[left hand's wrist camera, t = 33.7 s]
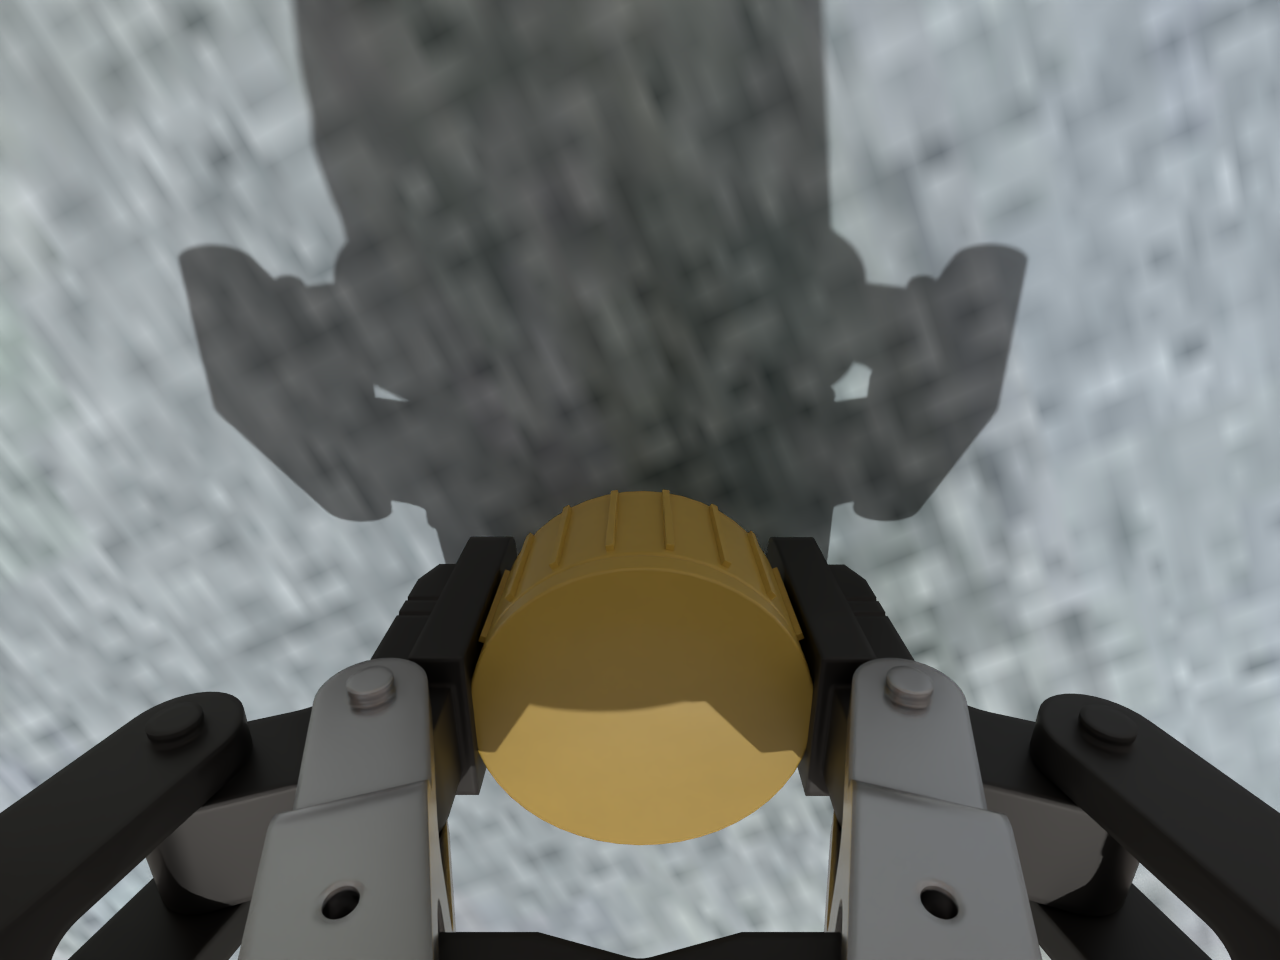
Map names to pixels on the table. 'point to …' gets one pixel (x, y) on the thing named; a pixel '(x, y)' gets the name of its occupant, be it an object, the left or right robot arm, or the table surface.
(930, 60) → the table surface
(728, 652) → the lid
